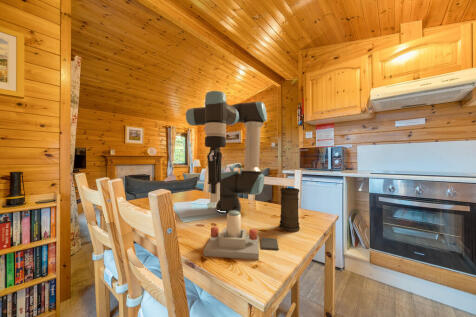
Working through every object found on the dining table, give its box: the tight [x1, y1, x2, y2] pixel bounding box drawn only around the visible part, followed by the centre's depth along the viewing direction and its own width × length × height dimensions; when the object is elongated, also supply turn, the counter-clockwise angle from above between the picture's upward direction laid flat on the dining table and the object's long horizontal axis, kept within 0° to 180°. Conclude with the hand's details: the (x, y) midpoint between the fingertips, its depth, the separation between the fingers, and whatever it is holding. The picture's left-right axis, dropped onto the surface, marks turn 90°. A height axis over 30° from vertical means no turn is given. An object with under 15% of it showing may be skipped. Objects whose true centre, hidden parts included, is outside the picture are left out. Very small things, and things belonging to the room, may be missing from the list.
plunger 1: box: [210, 226, 220, 238], centre depth 69 cm, size 3×3×3 cm
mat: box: [260, 237, 280, 251], centre depth 71 cm, size 8×6×1 cm
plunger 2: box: [248, 228, 258, 240], centre depth 67 cm, size 3×3×3 cm
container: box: [279, 187, 301, 233], centre depth 86 cm, size 9×9×18 cm
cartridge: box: [226, 210, 242, 238], centre depth 68 cm, size 5×5×11 cm
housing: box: [203, 227, 260, 260], centre depth 68 cm, size 14×18×5 cm
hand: (214, 201), depth 69 cm, fingers open, 2 cm apart
